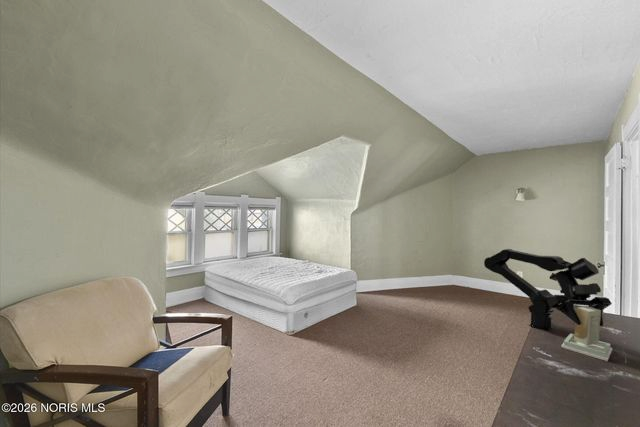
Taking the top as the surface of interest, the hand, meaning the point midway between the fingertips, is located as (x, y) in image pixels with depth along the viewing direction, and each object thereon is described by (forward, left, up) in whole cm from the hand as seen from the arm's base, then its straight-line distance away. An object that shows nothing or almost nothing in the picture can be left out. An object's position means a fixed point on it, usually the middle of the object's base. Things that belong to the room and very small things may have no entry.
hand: (590, 325), depth 104 cm
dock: (-1, +1, -9) cm, 9 cm away
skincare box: (-1, +1, -7) cm, 7 cm away
